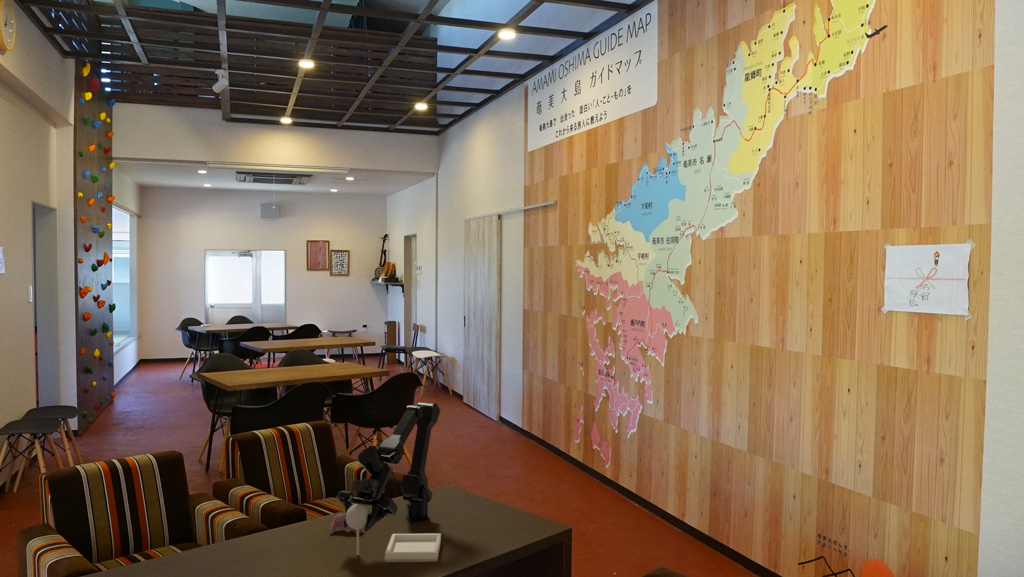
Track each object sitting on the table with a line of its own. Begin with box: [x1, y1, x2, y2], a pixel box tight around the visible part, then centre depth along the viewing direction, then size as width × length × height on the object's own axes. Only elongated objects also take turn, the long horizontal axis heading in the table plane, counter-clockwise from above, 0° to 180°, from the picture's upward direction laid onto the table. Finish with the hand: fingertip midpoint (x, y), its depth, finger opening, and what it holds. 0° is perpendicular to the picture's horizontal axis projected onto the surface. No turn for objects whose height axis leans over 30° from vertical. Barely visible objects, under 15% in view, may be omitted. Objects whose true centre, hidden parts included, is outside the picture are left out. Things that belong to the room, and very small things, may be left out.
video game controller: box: [329, 512, 362, 536], centre depth 216 cm, size 10×5×7 cm, turn 84°
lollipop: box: [346, 504, 371, 556], centre depth 198 cm, size 7×7×15 cm
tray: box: [384, 532, 442, 563], centre depth 200 cm, size 15×15×2 cm
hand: (355, 529), depth 196 cm, fingers closed on lollipop, 7 cm apart
